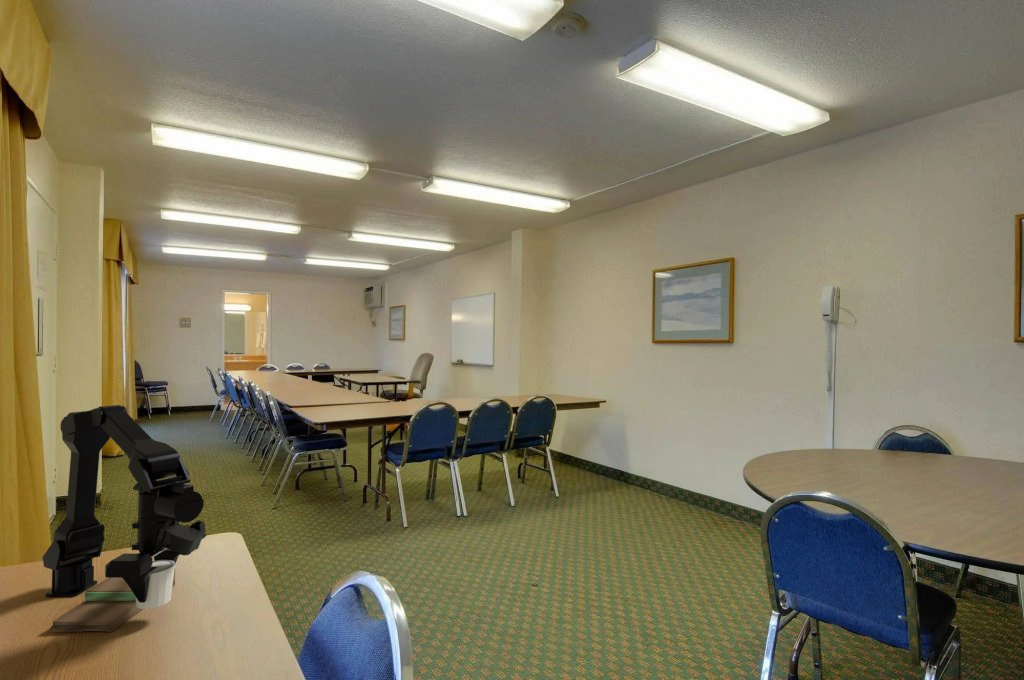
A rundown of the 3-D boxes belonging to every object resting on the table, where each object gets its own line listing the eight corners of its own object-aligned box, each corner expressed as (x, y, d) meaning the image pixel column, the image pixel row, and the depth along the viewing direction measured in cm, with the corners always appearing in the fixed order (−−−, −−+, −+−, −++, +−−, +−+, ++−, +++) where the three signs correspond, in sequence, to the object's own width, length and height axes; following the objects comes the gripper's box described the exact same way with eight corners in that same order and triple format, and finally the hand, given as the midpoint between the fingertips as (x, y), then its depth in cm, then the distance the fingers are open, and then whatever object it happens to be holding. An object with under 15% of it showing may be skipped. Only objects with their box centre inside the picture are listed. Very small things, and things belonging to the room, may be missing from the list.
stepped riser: (50, 633, 97) (51, 611, 97) (124, 585, 116) (125, 567, 116) (110, 633, 97) (111, 611, 97) (174, 585, 117) (175, 567, 117)
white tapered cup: (182, 596, 104) (183, 561, 104) (149, 613, 98) (149, 576, 98) (158, 591, 106) (158, 556, 106) (123, 606, 100) (124, 570, 100)
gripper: (167, 531, 93) (165, 618, 93) (222, 500, 112) (220, 573, 112) (103, 531, 93) (101, 618, 93) (169, 500, 111) (168, 573, 111)
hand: (153, 593), depth 102 cm, fingers closed on white tapered cup, 6 cm apart
